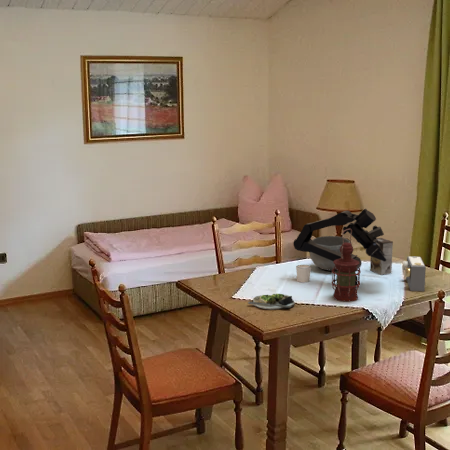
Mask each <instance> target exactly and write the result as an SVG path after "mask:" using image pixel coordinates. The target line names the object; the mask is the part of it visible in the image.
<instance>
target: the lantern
mask: <svg viewBox="0 0 450 450" xmlns="http://www.w3.org/2000/svg"><path fill="white" fill-rule="evenodd" d="M346 230H349V229H346ZM346 230H344V231H346ZM350 230H351V229H350ZM344 231H343V230H342V233H341V237H342V238H343V244H342V246H341V247H340V252H341V258H339V259H337V260H334V261H333V263H334V264H335V266H334V268H333V269H332V270H331V276H332V277H331V279H332V280H331V286H332V287H331V288H332V289H333V291H334V293H333V297H332V298H333V299H334V300H335V301H339V302H346V303H347V302H355V301H357V300H358V299H359V296H358V290H359V288H360V286H361V280H360V279H361V278H360V277H361V272H362V271H361V267H360V268H359V267H358V265H359V261H357V260H354V259H353V258H351V256H352V254H354V253H353V252H354V251H355V250H354V246H353V243H352V239H351V237H352V235H351V234H352V230H351V234H350V236H349V241H350V243H347V242H346V243H344V238H345V237H344V234H343V233H344ZM350 254H351V255H350ZM342 255H343V256H342ZM335 267H336V268H335ZM357 267H358V269H357ZM336 269H337V270H336ZM355 270H357V271H356V274H355ZM355 275H357V280H355ZM355 281H356V282H357V285H356V286H355ZM334 287H335V288H334ZM355 287H357V288H355Z"/></svg>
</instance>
